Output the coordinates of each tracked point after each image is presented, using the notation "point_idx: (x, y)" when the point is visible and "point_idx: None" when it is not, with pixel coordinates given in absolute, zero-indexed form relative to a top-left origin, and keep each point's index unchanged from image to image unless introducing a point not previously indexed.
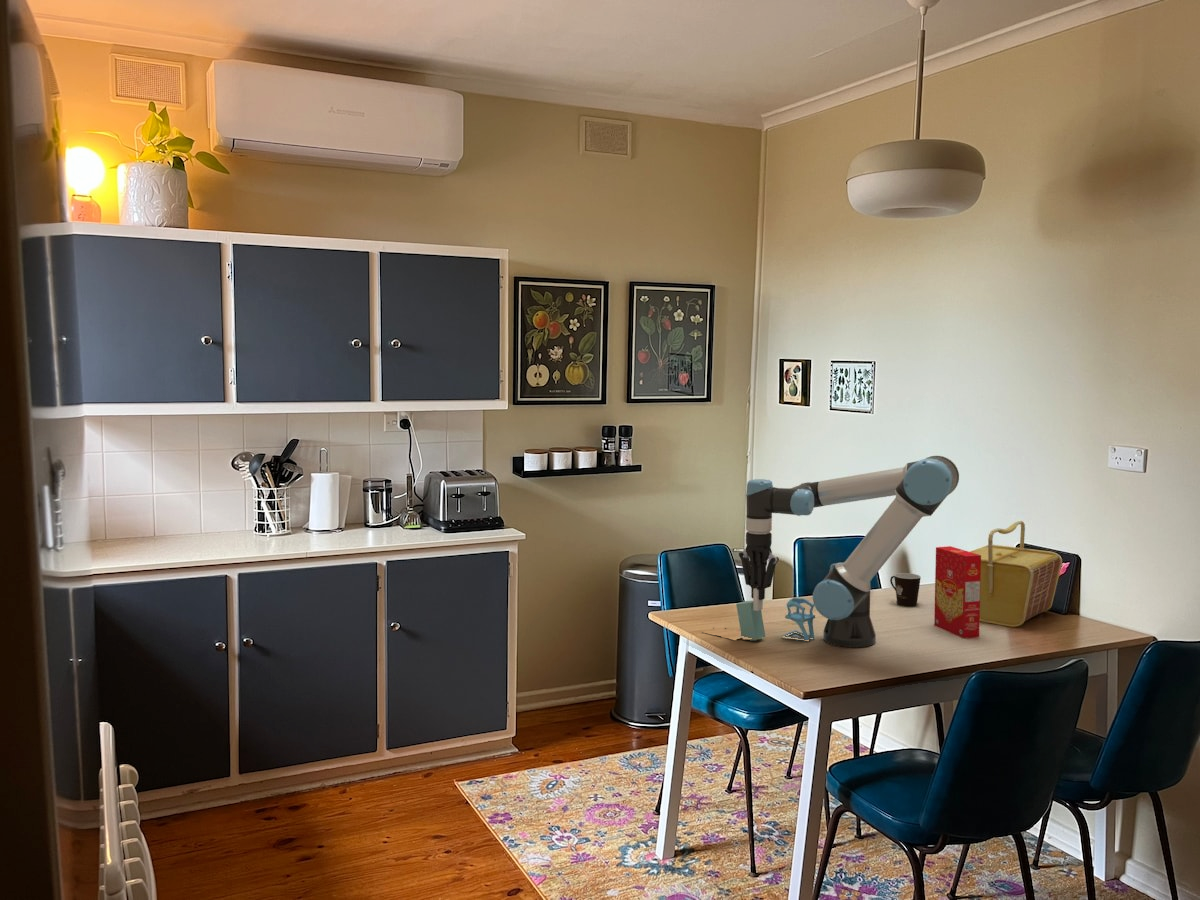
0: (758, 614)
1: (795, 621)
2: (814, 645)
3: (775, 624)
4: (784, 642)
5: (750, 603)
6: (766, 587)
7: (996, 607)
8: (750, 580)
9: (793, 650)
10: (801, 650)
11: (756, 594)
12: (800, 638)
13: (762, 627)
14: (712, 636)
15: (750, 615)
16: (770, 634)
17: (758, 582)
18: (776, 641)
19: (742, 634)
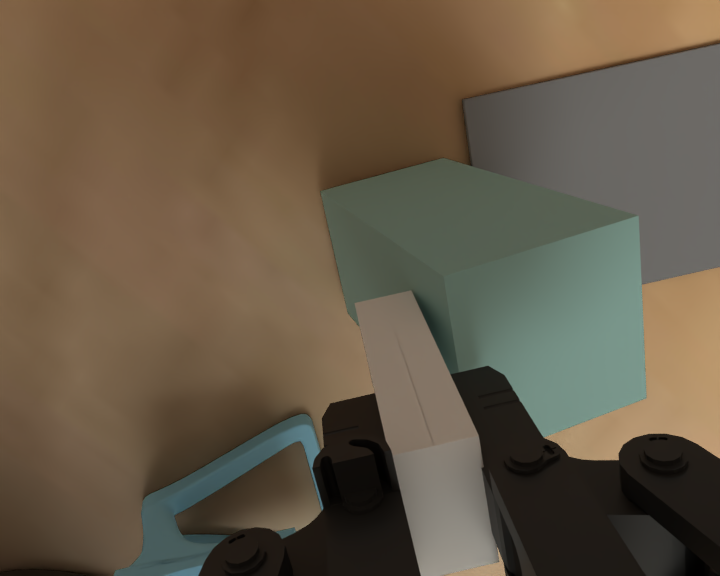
0: None
1: (196, 545)
2: (63, 480)
3: None
4: (225, 370)
5: (442, 289)
6: (212, 562)
7: None
8: (673, 564)
9: (32, 298)
10: (5, 343)
11: (395, 400)
12: (191, 482)
13: None
14: (669, 31)
15: (403, 233)
16: None
17: (397, 565)
18: (274, 342)
19: (453, 167)
